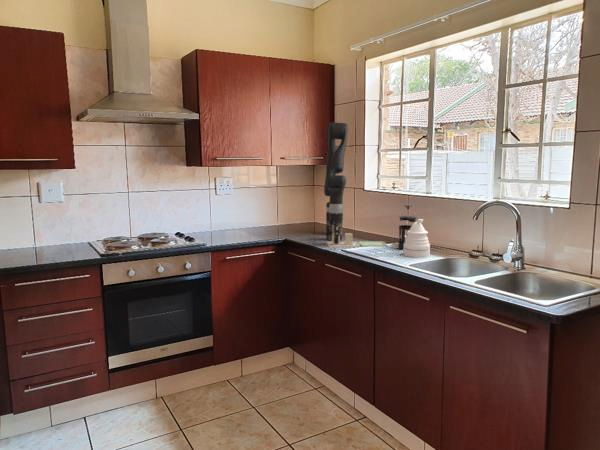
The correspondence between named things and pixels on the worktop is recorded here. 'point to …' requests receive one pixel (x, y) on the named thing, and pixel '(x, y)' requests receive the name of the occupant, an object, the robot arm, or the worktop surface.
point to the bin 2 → (373, 243)
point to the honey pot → (417, 241)
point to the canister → (329, 228)
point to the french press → (404, 228)
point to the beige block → (348, 238)
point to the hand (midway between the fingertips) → (335, 242)
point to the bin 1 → (343, 245)
